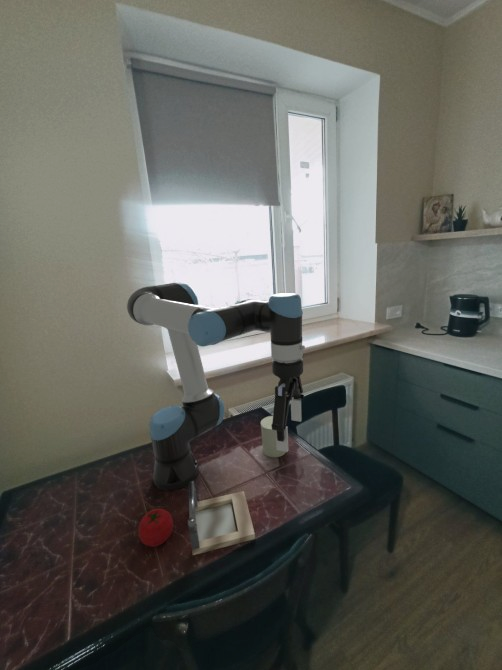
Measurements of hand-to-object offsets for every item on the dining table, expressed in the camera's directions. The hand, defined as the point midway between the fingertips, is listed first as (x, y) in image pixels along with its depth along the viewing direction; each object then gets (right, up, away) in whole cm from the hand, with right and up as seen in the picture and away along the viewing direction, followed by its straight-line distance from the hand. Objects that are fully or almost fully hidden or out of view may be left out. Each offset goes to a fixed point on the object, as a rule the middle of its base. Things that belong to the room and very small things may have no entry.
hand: (290, 434), depth 77 cm
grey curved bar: (-25, -25, +3) cm, 36 cm away
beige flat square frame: (-19, -26, +5) cm, 32 cm away
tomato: (-35, -29, +2) cm, 45 cm away
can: (-1, -17, +34) cm, 38 cm away
